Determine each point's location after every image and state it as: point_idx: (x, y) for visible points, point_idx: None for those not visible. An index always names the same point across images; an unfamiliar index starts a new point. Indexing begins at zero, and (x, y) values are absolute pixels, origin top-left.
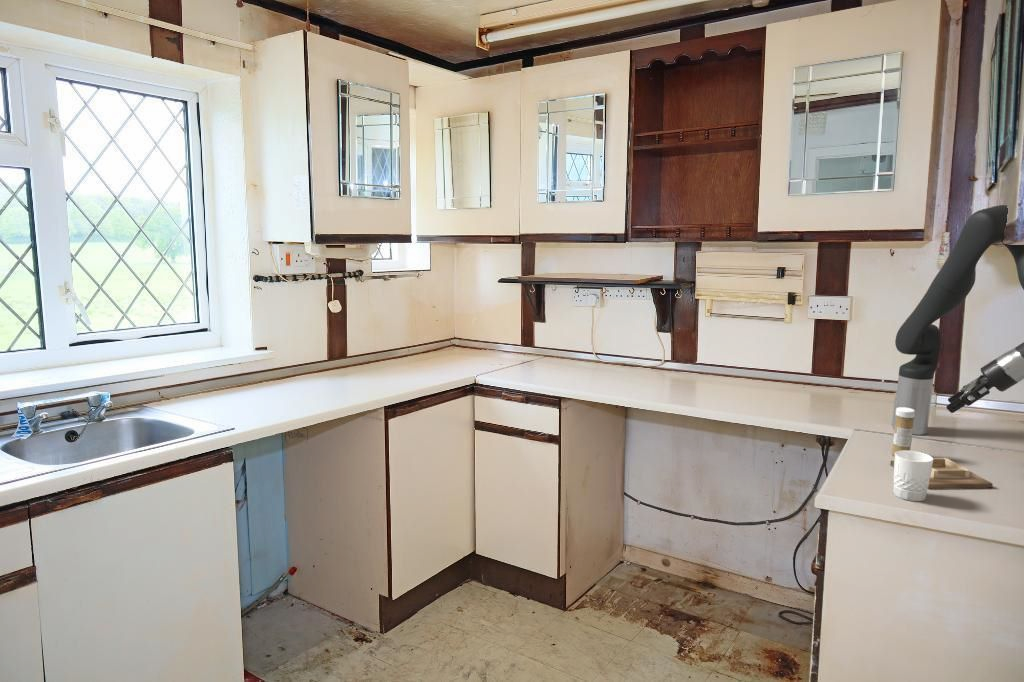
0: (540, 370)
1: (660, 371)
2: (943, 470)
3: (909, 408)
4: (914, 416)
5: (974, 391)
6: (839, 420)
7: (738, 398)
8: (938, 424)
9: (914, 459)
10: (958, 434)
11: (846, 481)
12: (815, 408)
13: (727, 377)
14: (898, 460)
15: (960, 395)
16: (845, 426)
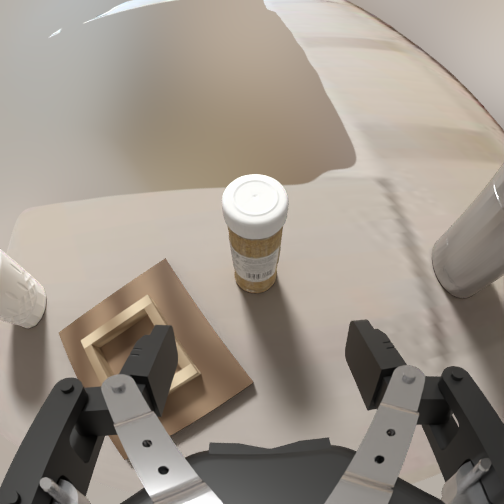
0: (315, 3)
1: (402, 39)
2: (92, 360)
3: (274, 205)
4: (249, 237)
5: (23, 450)
6: (411, 157)
7: (385, 70)
8: None
9: (7, 283)
10: (493, 350)
11: (60, 216)
12: (435, 131)
13: (446, 73)
14: None
15: (371, 378)
16: (387, 166)
